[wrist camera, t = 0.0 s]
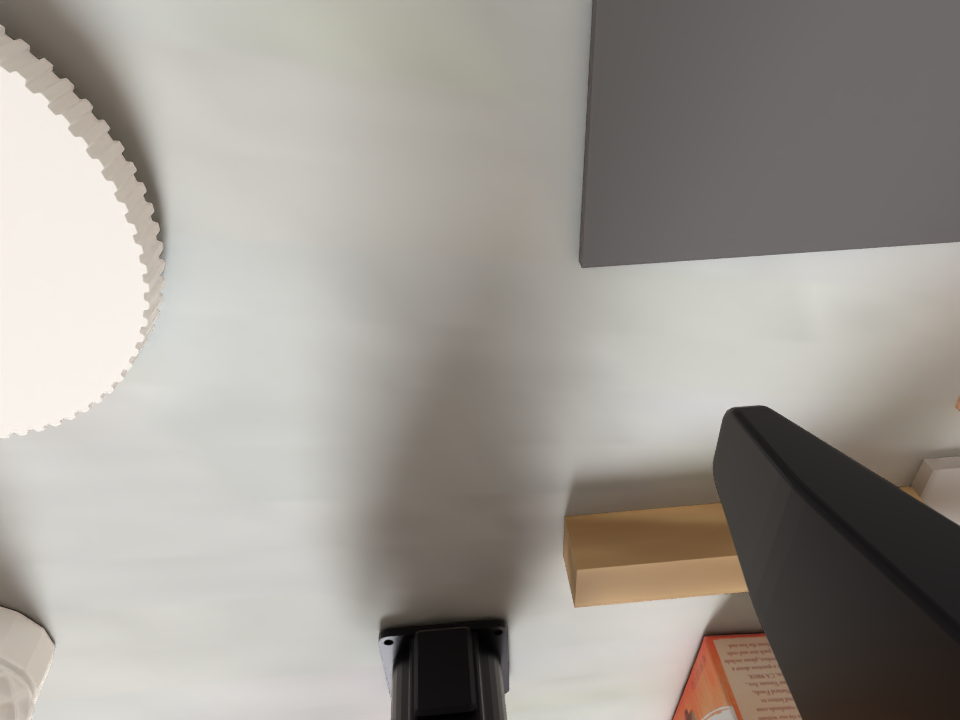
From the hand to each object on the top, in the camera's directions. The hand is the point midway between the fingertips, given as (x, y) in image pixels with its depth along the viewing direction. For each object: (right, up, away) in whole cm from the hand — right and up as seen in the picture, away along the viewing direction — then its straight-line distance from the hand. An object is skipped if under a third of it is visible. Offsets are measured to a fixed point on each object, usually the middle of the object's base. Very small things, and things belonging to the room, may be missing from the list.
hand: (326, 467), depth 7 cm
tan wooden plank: (+17, -6, +24) cm, 30 cm away
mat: (+17, +9, +13) cm, 23 cm away
